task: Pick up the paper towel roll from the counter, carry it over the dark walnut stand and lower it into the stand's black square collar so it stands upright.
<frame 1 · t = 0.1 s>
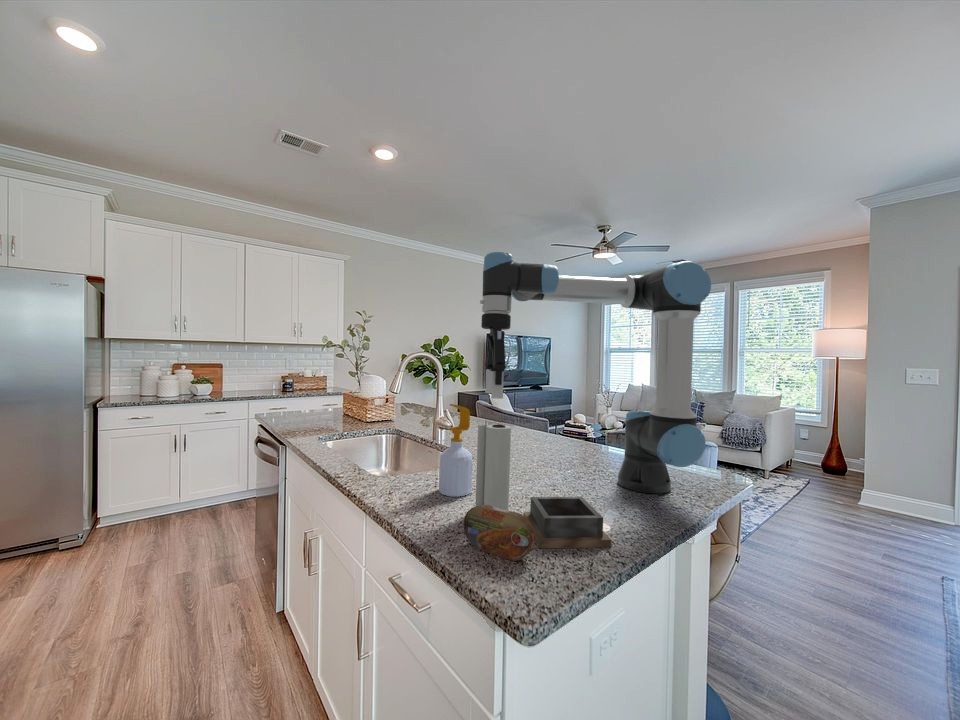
hand: (493, 395, 104), 28 cm above the worktop, tool pointing down, fingers open, 13 cm apart
tin: (497, 552, 78), on the worktop
soap bottle: (455, 492, 112), on the worktop
towel stand: (563, 531, 88), on the worktop
paper towel roll: (494, 513, 98), on the worktop
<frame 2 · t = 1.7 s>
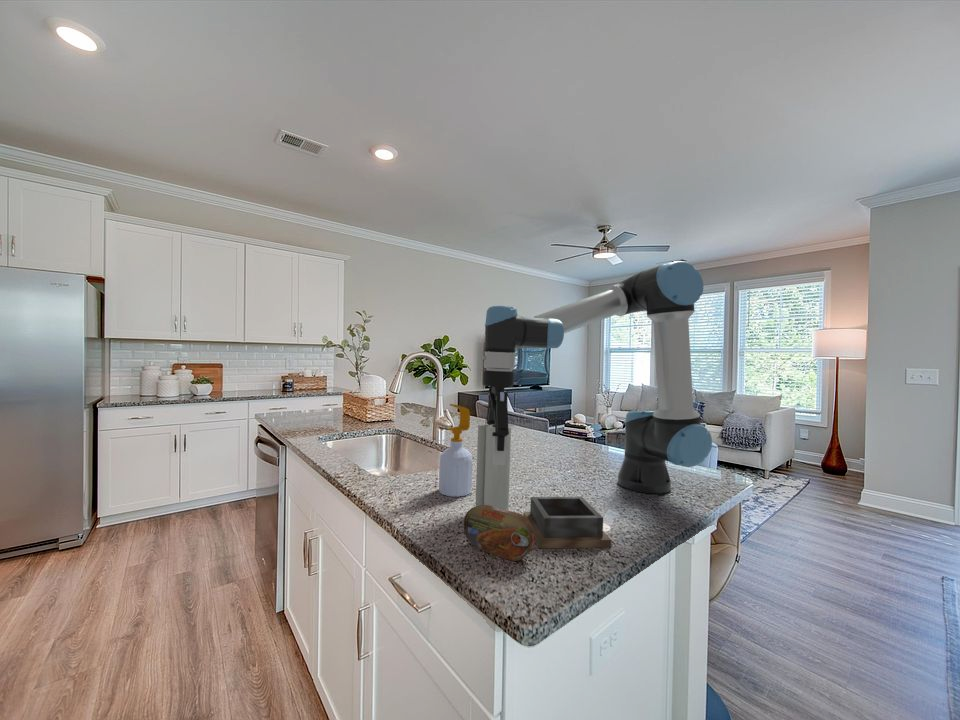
hand: (494, 457, 98), 14 cm above the worktop, tool pointing down, fingers open, 13 cm apart
nothing on the worktop moved.
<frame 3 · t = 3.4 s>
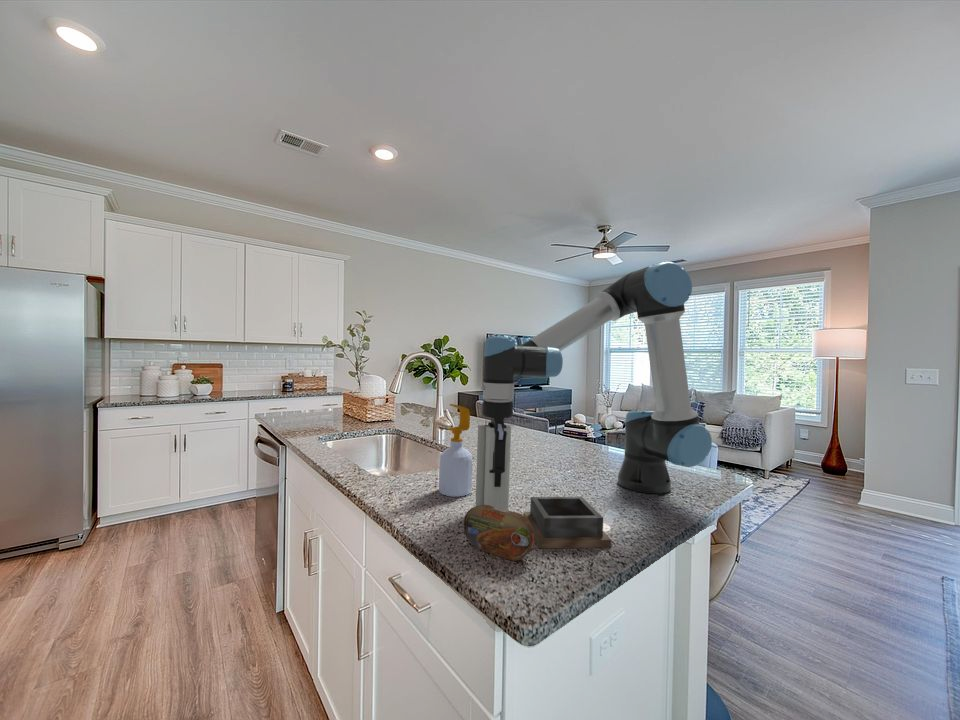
hand: (494, 495, 98), 4 cm above the worktop, tool pointing down, fingers open, 4 cm apart
paper towel roll: (494, 513, 98), on the worktop, touching gripper
everything else where it was.
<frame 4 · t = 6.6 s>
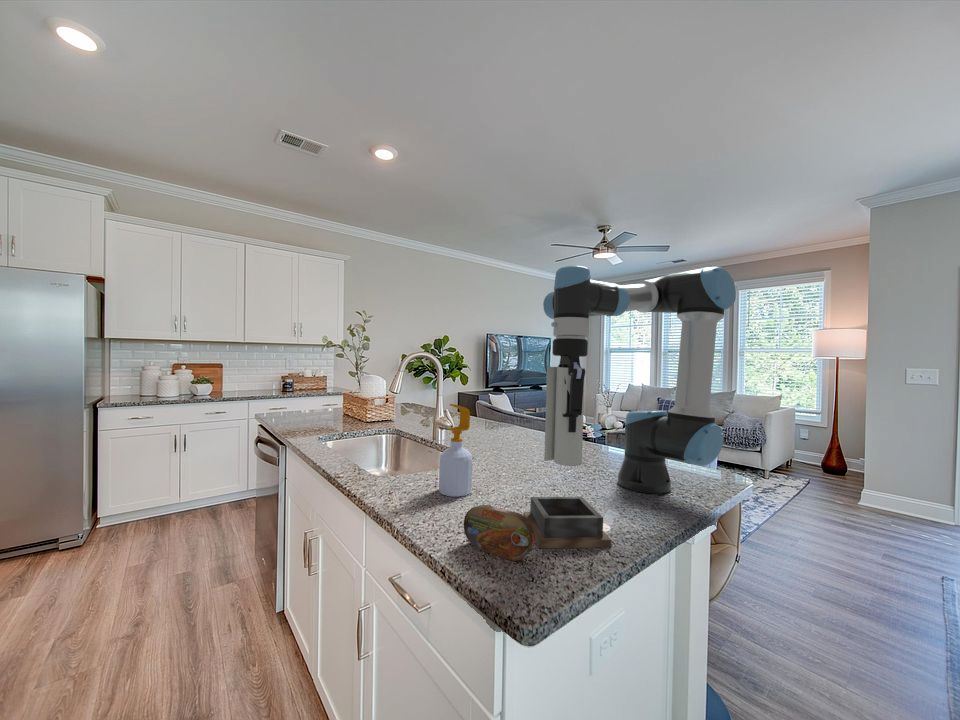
hand: (566, 444, 88), 19 cm above the worktop, tool pointing down, fingers closed on paper towel roll, 3 cm apart
paper towel roll: (565, 463, 89), point 15 cm above the worktop, touching gripper
everything else where it was.
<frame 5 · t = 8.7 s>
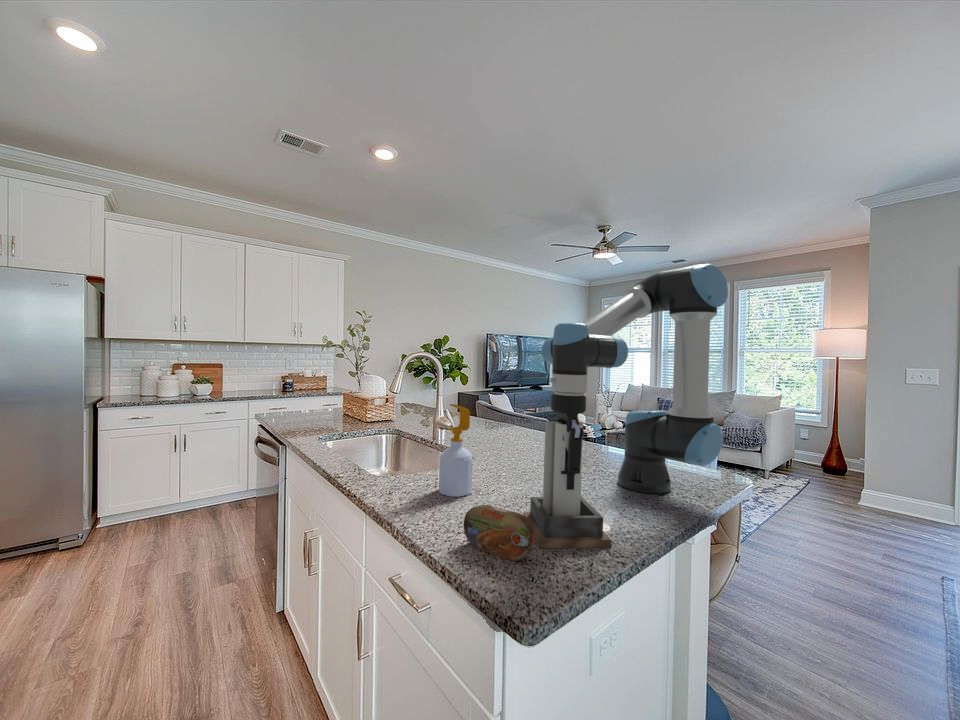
hand: (565, 499, 88), 7 cm above the worktop, tool pointing down, fingers closed on paper towel roll, 3 cm apart
paper towel roll: (563, 518, 89), point 3 cm above the worktop, touching gripper
everything else where it was.
when the fingers open (6 cm above the worktop, at t = 9.4 s): paper towel roll stays where it is, resting on towel stand.
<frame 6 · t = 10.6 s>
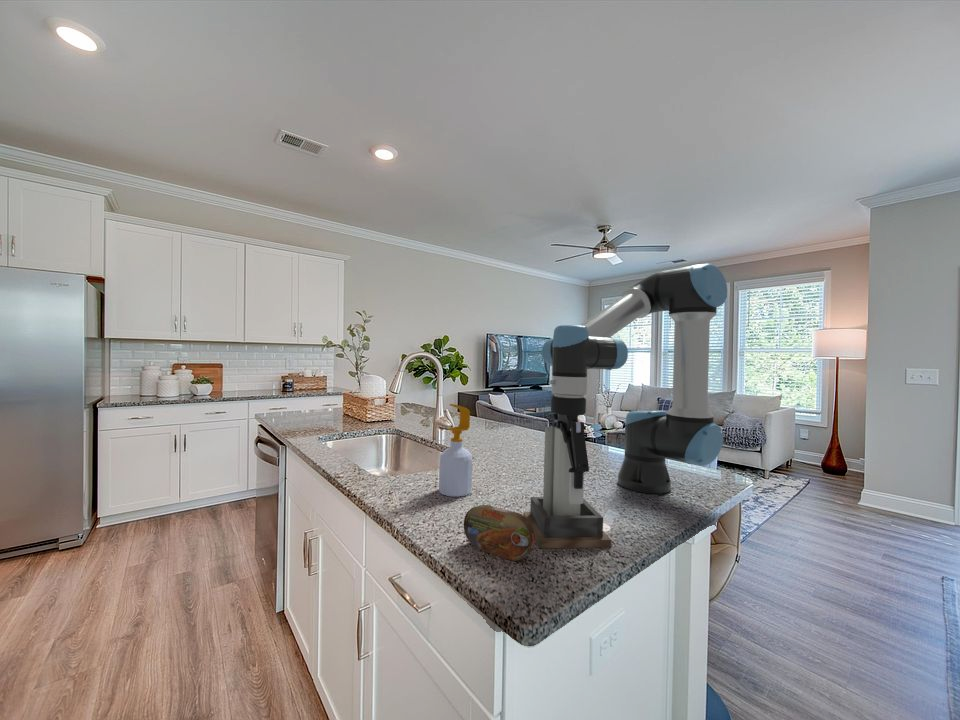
hand: (565, 492, 88), 9 cm above the worktop, tool pointing down, fingers open, 13 cm apart
paper towel roll: (563, 524, 89), point 1 cm above the worktop, touching towel stand
everything else where it was.
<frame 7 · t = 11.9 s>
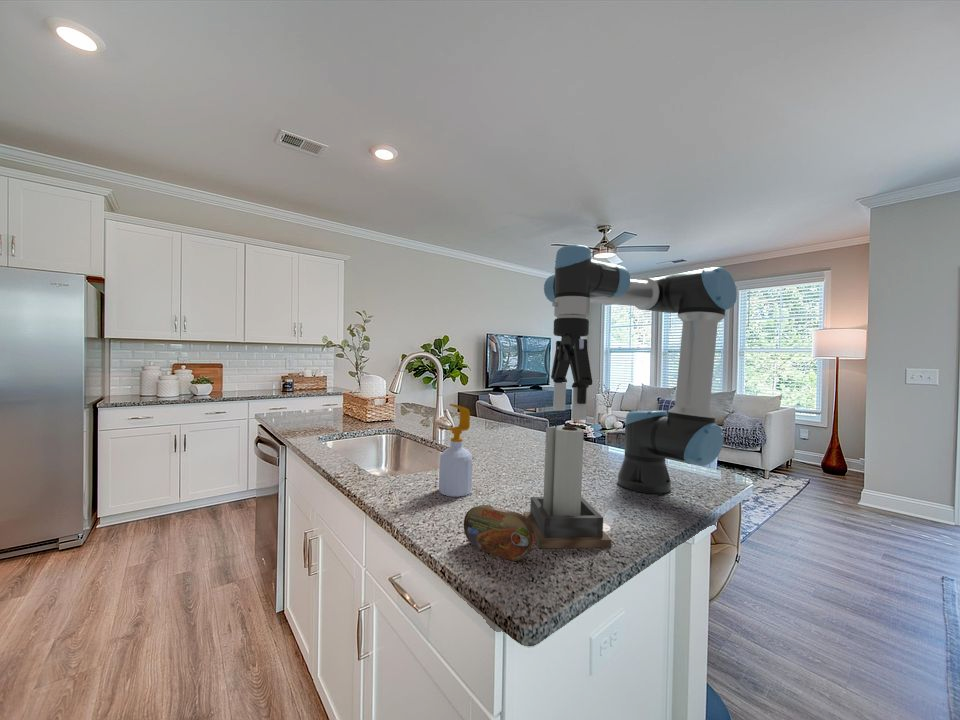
hand: (568, 414, 88), 26 cm above the worktop, tool pointing down, fingers open, 13 cm apart
nothing on the worktop moved.
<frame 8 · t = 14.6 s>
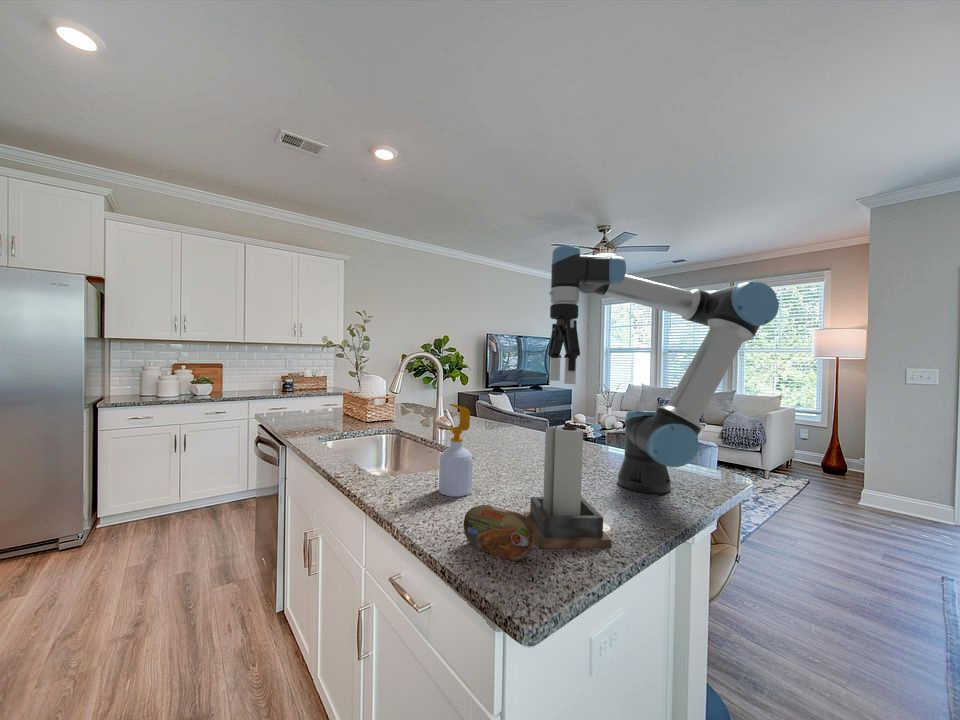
hand: (561, 382, 109), 32 cm above the worktop, tool pointing down, fingers open, 13 cm apart
nothing on the worktop moved.
at the end: paper towel roll 0.5 cm off-centre on the towel stand, point 1.3 cm above the towel stand's base; paper towel roll tilted 0°; the gripper is holding nothing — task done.
